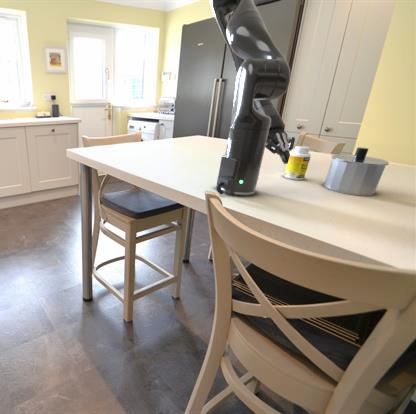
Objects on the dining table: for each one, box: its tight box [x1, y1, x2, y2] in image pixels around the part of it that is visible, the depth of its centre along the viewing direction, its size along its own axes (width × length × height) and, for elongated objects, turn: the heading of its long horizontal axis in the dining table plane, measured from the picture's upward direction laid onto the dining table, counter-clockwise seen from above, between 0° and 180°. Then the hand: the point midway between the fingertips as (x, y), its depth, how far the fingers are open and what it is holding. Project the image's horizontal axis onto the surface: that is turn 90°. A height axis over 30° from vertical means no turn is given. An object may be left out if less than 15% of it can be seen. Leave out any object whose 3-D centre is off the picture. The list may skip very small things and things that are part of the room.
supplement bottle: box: [284, 145, 312, 181], centre depth 91 cm, size 6×6×10 cm
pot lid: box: [331, 146, 390, 167], centre depth 79 cm, size 12×12×4 cm
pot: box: [324, 158, 386, 197], centre depth 82 cm, size 11×11×8 cm
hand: (288, 162), depth 95 cm, fingers closed
